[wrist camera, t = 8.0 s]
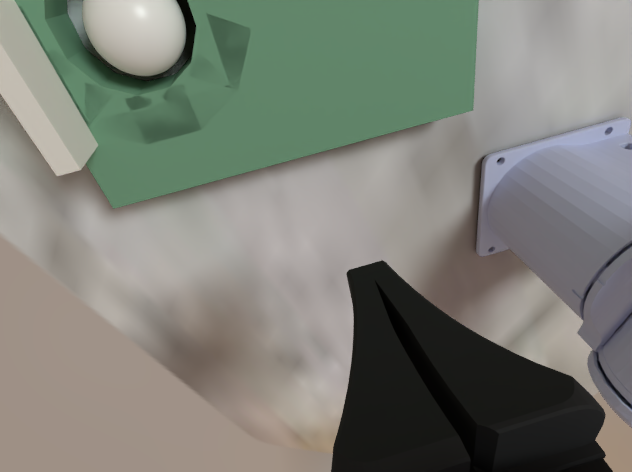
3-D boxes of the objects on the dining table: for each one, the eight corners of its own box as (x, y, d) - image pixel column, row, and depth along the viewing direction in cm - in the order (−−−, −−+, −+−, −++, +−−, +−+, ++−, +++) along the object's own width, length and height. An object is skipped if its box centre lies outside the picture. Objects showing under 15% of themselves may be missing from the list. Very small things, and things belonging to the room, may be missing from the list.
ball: (130, -39, 15) (190, -39, 14) (159, 55, 18) (214, 65, 16) (42, -24, 13) (101, -22, 12) (89, 81, 16) (143, 95, 14)
